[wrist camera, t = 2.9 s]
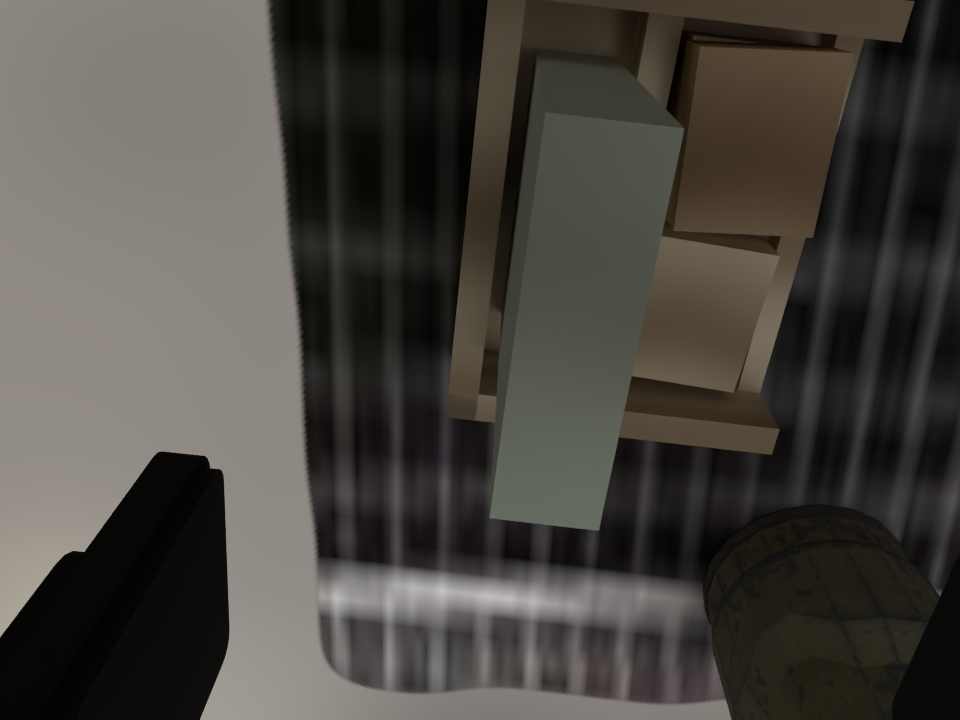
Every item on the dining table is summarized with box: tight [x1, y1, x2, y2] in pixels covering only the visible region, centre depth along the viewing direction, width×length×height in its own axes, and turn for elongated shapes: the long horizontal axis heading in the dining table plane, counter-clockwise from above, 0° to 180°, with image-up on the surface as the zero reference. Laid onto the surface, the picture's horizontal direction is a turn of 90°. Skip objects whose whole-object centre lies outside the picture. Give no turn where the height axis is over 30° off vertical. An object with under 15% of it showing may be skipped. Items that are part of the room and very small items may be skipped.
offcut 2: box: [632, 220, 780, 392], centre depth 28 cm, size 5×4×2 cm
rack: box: [446, 0, 914, 455], centre depth 26 cm, size 14×11×4 cm
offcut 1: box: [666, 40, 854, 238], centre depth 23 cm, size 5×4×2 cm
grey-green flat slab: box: [490, 48, 684, 531], centre depth 22 cm, size 9×2×12 cm, turn 174°
